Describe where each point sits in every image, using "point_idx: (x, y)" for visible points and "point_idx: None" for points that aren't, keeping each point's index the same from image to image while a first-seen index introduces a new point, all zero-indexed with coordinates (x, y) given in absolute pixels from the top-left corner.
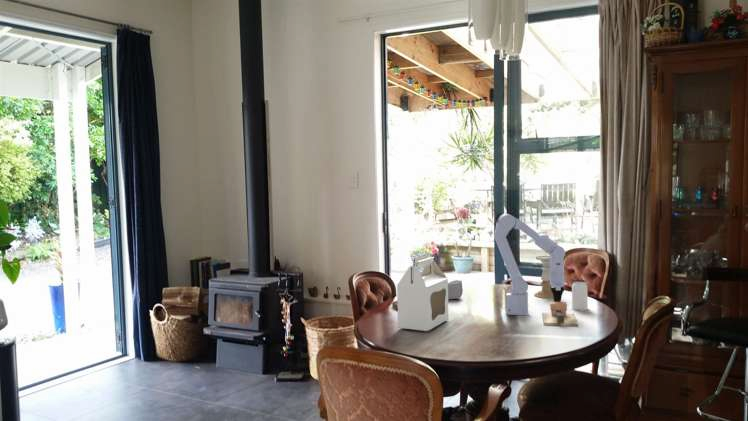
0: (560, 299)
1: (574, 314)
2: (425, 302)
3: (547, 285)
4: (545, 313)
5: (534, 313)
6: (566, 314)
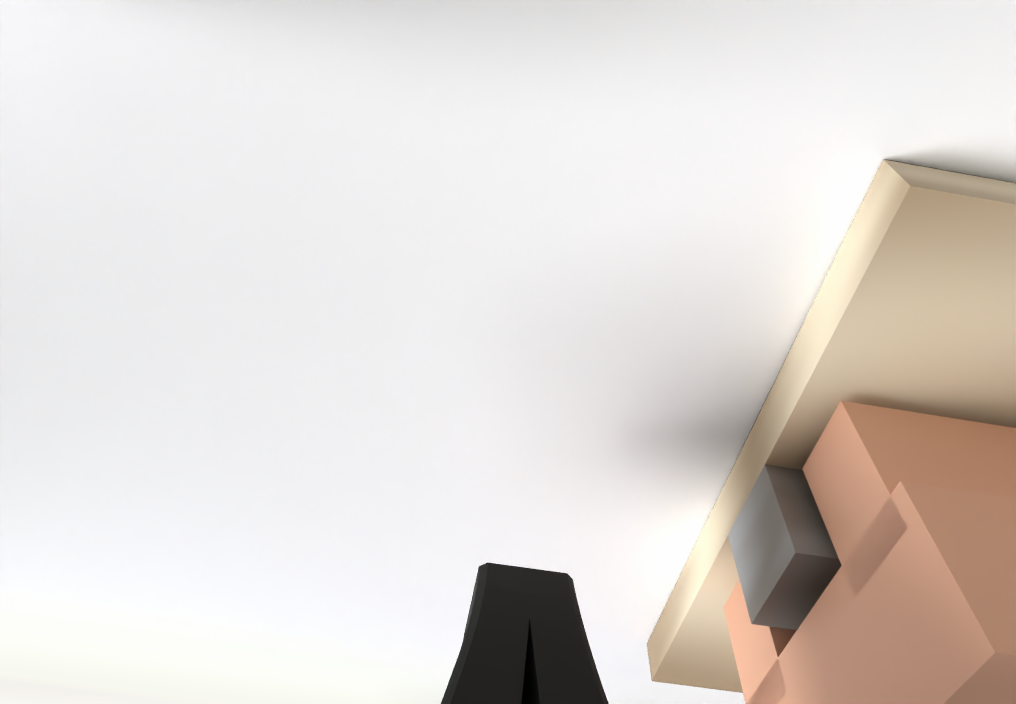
0: None
1: (1014, 205)
2: None
3: None
4: (728, 659)
5: None
6: (929, 386)
